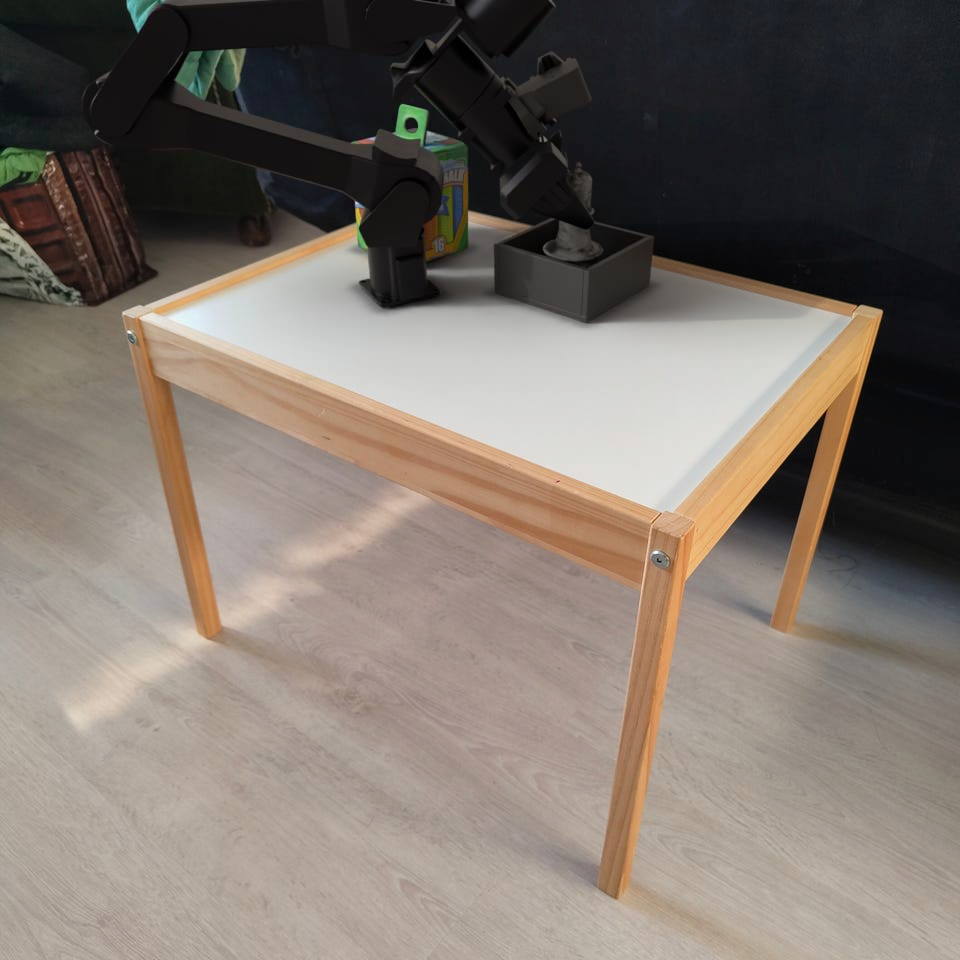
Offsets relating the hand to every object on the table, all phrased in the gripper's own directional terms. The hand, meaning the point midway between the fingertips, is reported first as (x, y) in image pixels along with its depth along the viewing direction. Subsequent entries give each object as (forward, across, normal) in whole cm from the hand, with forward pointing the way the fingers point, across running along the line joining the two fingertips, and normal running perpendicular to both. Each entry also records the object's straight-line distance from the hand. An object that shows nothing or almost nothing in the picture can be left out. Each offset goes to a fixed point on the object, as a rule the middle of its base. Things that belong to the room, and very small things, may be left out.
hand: (589, 218), depth 86 cm
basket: (+4, 0, +6) cm, 7 cm away
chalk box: (-7, +12, +18) cm, 23 cm away
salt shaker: (+4, 0, +6) cm, 7 cm away
